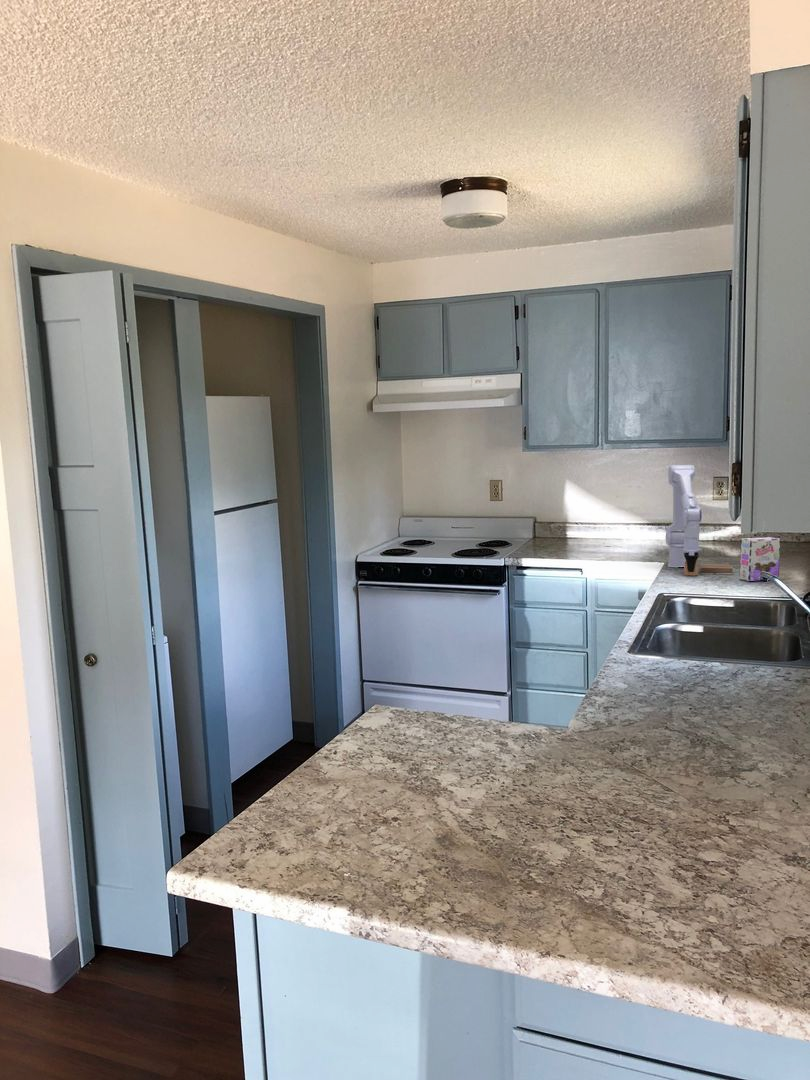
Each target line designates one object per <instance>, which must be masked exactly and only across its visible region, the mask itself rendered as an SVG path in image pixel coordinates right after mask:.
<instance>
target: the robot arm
mask: <svg viewBox="0 0 810 1080" xmlns="http://www.w3.org/2000/svg"><path fill="white" fill-rule="evenodd" d="M667 474H668V479H667V480H668V484H669V485H671V486H672V494H673V495H672V501H673V502H672V523H671V524H670V525H669V526H667V527H666V529H665V530H666V531H665V544H666V545H667V546H668V548H669V551H668V552H669V553H668V555H669V556H668V563H667V568H678V567H684V561H686V562H687V569H688V572H694V569H695V564H696V562H698V561H697V560H698V559H699V557H700V556H699V551H701V552H702V551H703V549H702V547H701V548H700V523H701V522H702V518H703V513H702V509H701V507H700V506H699V505H698V501H697V496H696V494H695V493H693V489H692V482H693V480H694V478H695V475H696V468H695V466H694V465H693V464H686V465H685V464H684V465H683V464H676V465H675V464H674V465H673V464H670V466H669V467H668V473H667Z"/></svg>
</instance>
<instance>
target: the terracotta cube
mask: <svg viewBox="0 0 810 1080" xmlns="http://www.w3.org/2000/svg"><path fill="white" fill-rule="evenodd" d="M698 564H699V563H698V561H696V564H695V569H694V572H688V569H687V562H686V561H684V568H683V575H684V576H695V575H697V576H698V567H699V565H698Z"/></svg>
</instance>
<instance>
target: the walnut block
mask: <svg viewBox="0 0 810 1080" xmlns="http://www.w3.org/2000/svg"><path fill="white" fill-rule="evenodd" d="M699 571H701V572H700V574H701V573H732V574H733V566H732V565H731V564H729V563H725V564H724V563H699Z"/></svg>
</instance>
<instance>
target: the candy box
mask: <svg viewBox="0 0 810 1080" xmlns="http://www.w3.org/2000/svg"><path fill="white" fill-rule="evenodd" d="M740 541H741V542H740V559H739V580H740V579H741V581H743V580H745V582H747V581H755V582H761V581H760V578H759V577H760V573H761V572H762V571H766V572H769V573H771V574H773V575H776V576H777V577H780V554H781V553H780V552H781V551H780V550H781V538H778V537H768V536H767V537H749V538H748V537H747V538H741V540H740Z"/></svg>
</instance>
